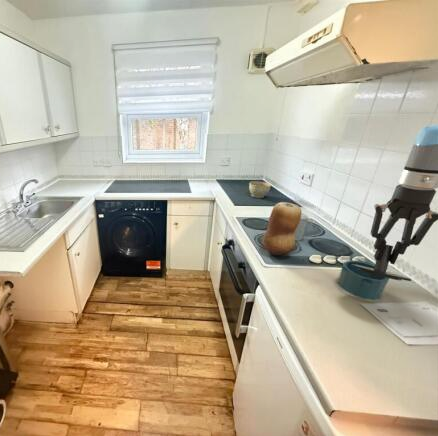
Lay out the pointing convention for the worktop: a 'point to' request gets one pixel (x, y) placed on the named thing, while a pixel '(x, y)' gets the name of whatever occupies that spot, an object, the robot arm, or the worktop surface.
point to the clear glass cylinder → (301, 227)
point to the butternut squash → (282, 228)
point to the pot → (361, 281)
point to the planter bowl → (259, 189)
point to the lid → (382, 266)
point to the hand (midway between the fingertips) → (383, 260)
